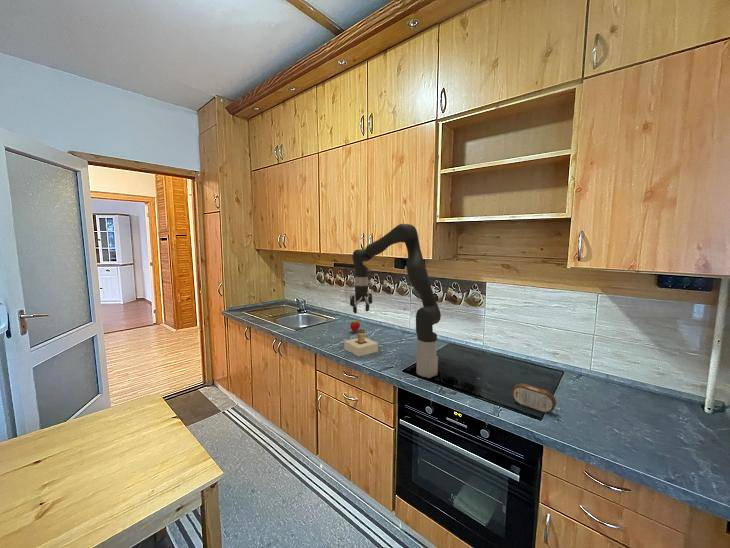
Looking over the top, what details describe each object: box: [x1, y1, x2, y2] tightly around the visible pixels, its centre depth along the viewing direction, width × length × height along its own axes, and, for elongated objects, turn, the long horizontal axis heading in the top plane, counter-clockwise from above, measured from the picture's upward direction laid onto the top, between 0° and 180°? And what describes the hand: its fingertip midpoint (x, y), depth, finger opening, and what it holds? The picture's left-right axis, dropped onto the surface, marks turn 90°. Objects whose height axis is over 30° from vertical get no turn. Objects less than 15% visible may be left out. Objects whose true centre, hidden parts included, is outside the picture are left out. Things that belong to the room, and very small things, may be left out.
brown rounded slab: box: [511, 383, 557, 414], centre depth 117 cm, size 15×3×8 cm, turn 48°
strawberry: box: [349, 320, 361, 333], centre depth 208 cm, size 6×8×10 cm
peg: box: [357, 328, 366, 344], centre depth 176 cm, size 4×4×12 cm
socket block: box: [344, 337, 379, 358], centre depth 176 cm, size 14×14×5 cm
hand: (361, 312), depth 174 cm, fingers open, 8 cm apart
